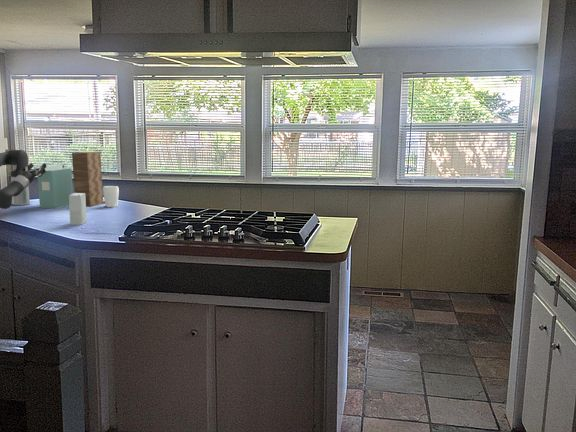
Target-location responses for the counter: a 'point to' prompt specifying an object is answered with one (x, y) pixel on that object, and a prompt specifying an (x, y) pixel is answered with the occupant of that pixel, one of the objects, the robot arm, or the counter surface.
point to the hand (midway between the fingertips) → (39, 164)
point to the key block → (55, 188)
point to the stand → (88, 176)
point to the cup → (111, 195)
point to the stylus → (52, 167)
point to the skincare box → (77, 208)
